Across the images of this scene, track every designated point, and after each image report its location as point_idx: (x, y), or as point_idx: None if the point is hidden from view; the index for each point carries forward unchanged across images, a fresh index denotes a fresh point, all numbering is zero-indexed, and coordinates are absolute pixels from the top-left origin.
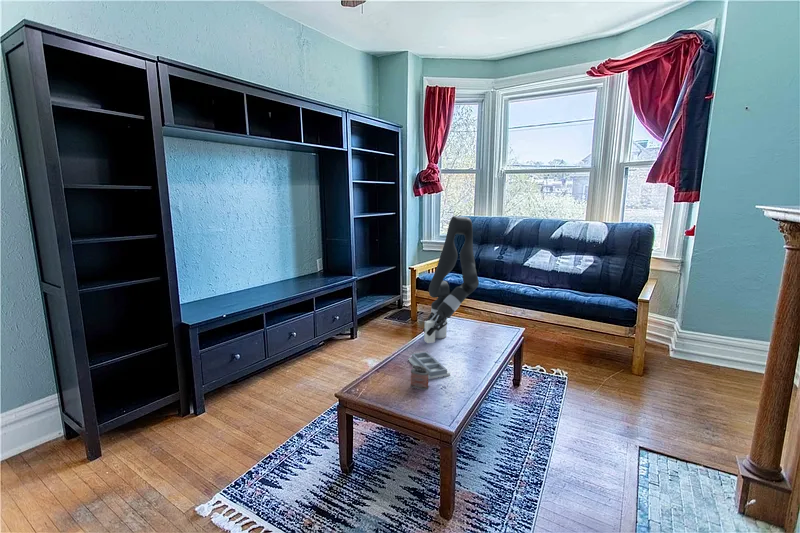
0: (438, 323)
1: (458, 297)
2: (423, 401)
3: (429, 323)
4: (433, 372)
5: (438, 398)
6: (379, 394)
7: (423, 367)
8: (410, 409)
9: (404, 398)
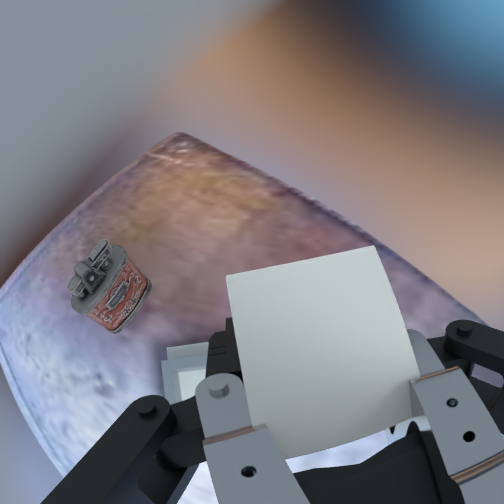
0: (119, 476)
1: None
2: (61, 291)
3: (232, 314)
4: (163, 375)
5: (57, 338)
6: (138, 191)
7: (73, 280)
8: (52, 252)
9: (92, 246)
